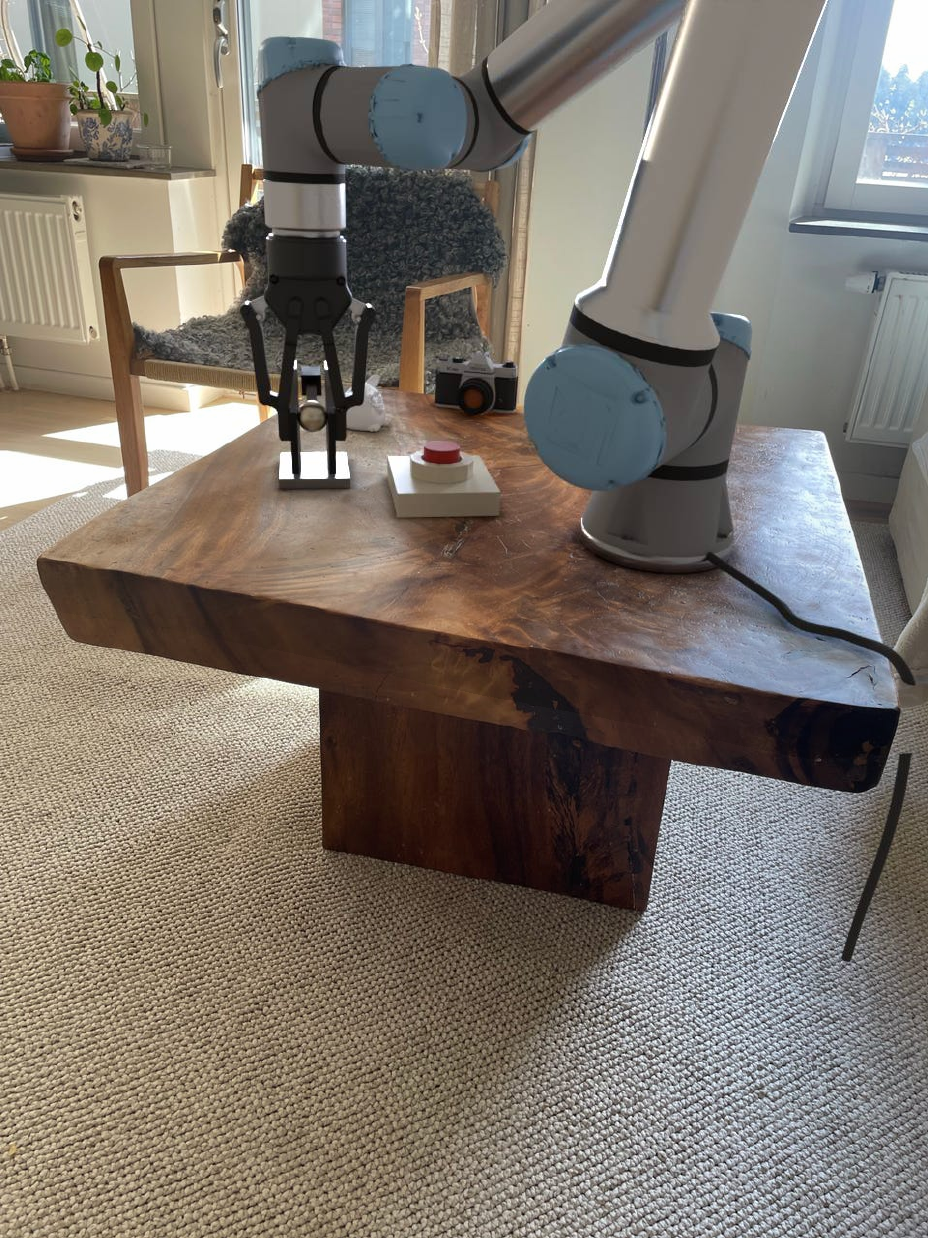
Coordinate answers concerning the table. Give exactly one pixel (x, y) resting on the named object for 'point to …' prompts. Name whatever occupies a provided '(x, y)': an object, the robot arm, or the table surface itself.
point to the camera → (476, 384)
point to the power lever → (311, 401)
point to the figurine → (368, 409)
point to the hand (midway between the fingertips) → (314, 469)
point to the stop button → (442, 452)
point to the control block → (441, 487)
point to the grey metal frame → (313, 454)
